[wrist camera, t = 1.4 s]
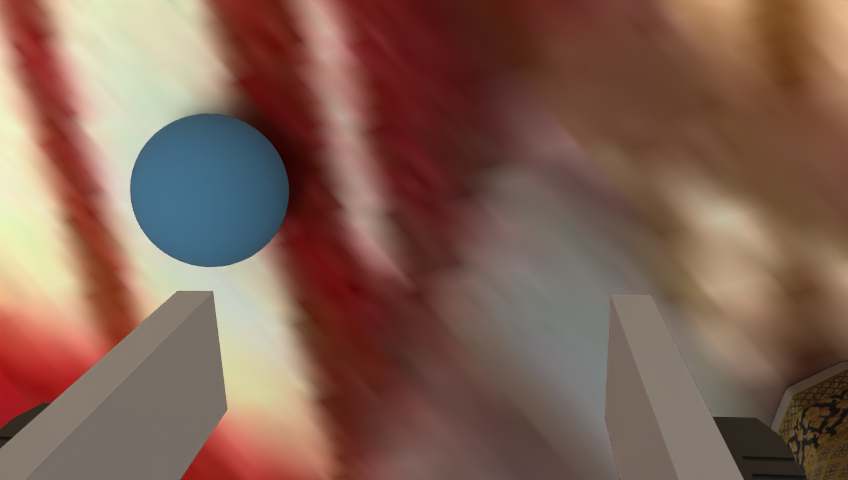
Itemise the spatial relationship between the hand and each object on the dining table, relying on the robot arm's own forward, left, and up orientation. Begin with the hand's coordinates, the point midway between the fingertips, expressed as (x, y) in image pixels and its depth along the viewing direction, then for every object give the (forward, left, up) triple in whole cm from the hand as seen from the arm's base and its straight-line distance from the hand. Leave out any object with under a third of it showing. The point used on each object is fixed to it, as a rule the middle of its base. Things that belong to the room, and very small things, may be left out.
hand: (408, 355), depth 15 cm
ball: (0, +10, -14) cm, 17 cm away
